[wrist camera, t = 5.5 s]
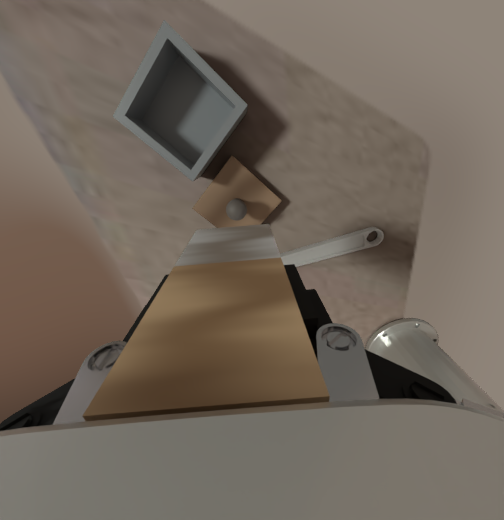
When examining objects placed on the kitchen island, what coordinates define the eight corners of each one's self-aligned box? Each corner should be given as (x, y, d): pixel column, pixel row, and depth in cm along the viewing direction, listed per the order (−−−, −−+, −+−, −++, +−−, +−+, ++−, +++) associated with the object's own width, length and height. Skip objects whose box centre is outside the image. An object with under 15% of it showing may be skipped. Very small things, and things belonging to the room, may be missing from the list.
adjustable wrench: (378, 222, 33) (385, 226, 32) (376, 262, 36) (383, 267, 34) (208, 258, 34) (206, 263, 33) (219, 293, 37) (218, 300, 36)
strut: (269, 223, 14) (329, 395, 4) (271, 285, 16) (319, 509, 6) (196, 229, 14) (82, 416, 4) (208, 291, 16) (148, 522, 6)
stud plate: (279, 198, 31) (287, 208, 26) (241, 242, 33) (241, 258, 28) (232, 155, 28) (230, 156, 23) (194, 205, 31) (184, 216, 26)
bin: (246, 112, 26) (247, 105, 22) (200, 176, 29) (192, 181, 25) (178, 44, 24) (164, 19, 19) (134, 122, 26) (112, 116, 22)
